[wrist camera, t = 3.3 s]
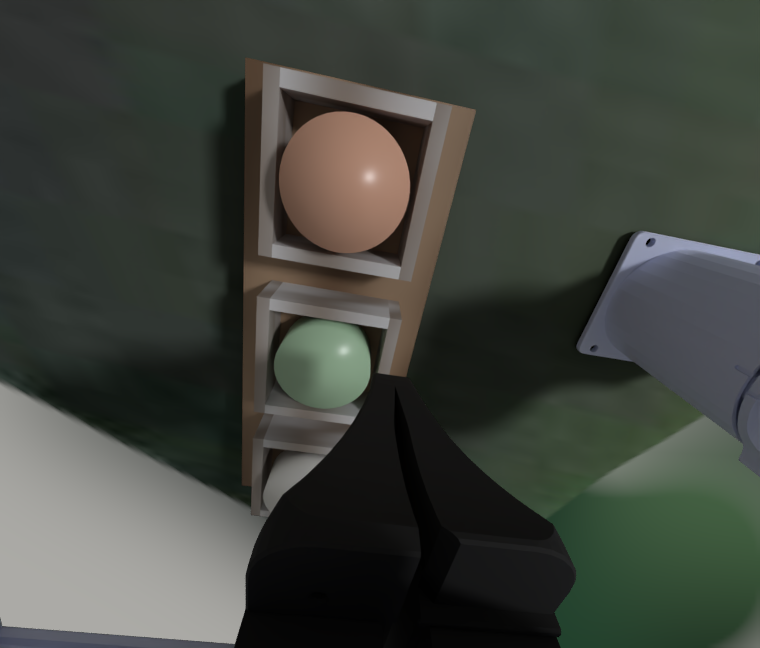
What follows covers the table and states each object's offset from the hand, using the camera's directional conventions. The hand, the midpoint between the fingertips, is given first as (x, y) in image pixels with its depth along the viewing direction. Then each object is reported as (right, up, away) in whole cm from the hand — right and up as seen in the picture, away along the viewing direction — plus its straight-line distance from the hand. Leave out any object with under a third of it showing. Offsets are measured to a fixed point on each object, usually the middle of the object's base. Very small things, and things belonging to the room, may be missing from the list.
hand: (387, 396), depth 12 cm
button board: (-3, +2, +9) cm, 10 cm away
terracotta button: (-2, +9, +2) cm, 9 cm away
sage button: (-3, +1, +7) cm, 8 cm away
